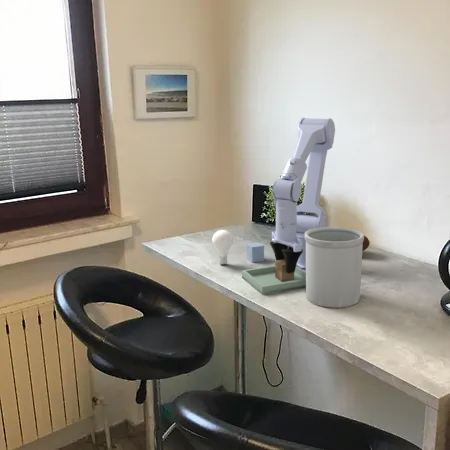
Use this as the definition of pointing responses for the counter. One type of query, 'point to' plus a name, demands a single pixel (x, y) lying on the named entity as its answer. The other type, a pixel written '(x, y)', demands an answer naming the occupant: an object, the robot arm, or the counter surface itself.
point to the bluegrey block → (255, 252)
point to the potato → (365, 243)
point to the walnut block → (282, 271)
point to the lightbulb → (222, 244)
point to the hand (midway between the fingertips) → (285, 268)
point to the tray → (273, 280)
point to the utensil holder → (333, 266)
